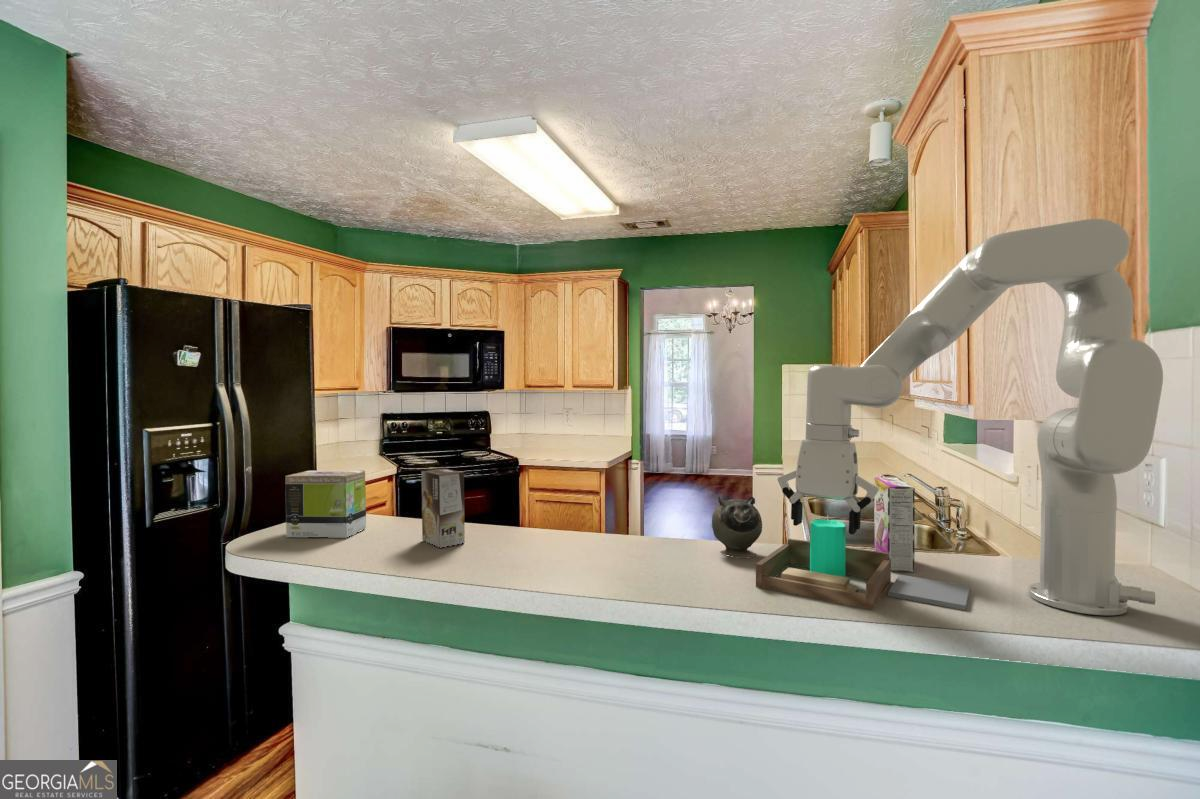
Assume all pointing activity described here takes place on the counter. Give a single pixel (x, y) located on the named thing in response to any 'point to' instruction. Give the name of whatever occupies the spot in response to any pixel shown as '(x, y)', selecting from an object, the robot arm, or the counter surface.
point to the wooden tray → (855, 565)
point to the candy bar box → (895, 522)
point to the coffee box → (443, 507)
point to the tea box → (325, 503)
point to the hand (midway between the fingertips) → (824, 528)
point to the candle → (828, 547)
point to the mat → (931, 591)
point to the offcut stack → (818, 579)
